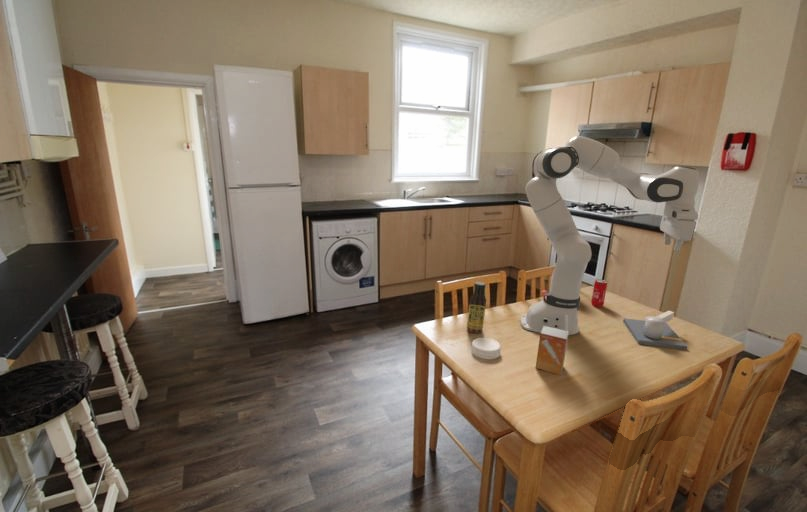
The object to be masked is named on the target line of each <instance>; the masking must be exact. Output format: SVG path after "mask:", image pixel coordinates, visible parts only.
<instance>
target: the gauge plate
mask: <svg viewBox="0 0 807 512" xmlns="http://www.w3.org/2000/svg"><path fill="white" fill-rule="evenodd" d="M622 321H623V323H624V325H625V326H626V328H627V330H628V331H629V334H631V336H632V337H633V338H634V340H635V341H636V343H637V344H638V345H645V346H653V347H654V346H655V347H660V348H668V349H677V350H684V351H687V349H688V345H687V344H686V343H685V342H684V341H683V339H682V338H681V337H680V336H679V335H678V334H677V333H676V332H675V330H674V329H672V327H670V325H669V324H668V322H667V323H665V324H664V329H663V333H662V338H660V339H654V338H650V337H647V336H645V335H644V334H643V331H644V327H645V322H646V320H643V319H642V320H641V319H635V318H624V317H623V320H622Z"/></svg>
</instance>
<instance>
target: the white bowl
mask: <svg viewBox="0 0 807 512" xmlns="http://www.w3.org/2000/svg"><path fill="white" fill-rule="evenodd" d="M501 346H502V345H501V343H499V341H497V340H496V339H492V338H489V337H477V338H475V339H473V340H472V342H471V353H472V354H473V355H474V356H475V357H477V358H479V359H483V360H494V359H495V360H496V359H497V358H499V357H500V355H501V349H502V347H501Z"/></svg>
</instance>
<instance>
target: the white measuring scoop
mask: <svg viewBox="0 0 807 512" xmlns="http://www.w3.org/2000/svg"><path fill="white" fill-rule="evenodd" d="M674 316H675V311H672V310H667V311H665V312H663V313H660V314H659V315H657V316H653V315H649V316H646V317H645V321H646V322H645V327H644V331H643V334H644V335H645V336H647V337H650V338H654V339H660V338H662V333H663V329H664V324H665V323H667V324H668V323H669V322H670V321H672V320H673V319H674Z"/></svg>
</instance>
